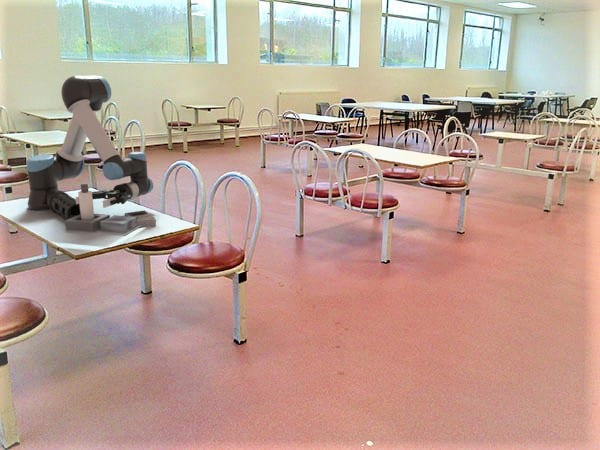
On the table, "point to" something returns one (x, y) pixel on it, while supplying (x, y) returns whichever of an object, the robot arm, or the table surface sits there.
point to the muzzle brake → (63, 204)
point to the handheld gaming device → (143, 218)
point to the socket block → (85, 223)
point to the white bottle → (86, 203)
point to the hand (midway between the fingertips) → (89, 202)
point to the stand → (118, 224)
